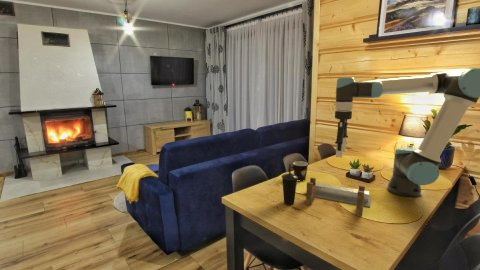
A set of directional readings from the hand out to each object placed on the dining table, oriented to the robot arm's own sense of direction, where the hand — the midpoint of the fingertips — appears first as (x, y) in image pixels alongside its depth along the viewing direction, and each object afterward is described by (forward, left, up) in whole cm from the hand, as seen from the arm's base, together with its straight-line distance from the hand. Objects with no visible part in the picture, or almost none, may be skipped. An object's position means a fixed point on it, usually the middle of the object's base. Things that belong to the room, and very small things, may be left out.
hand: (340, 153), depth 128 cm
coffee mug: (+25, -14, -23) cm, 37 cm away
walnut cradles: (0, +12, -23) cm, 26 cm away
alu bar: (0, 0, -22) cm, 22 cm away
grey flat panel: (0, 0, -23) cm, 23 cm away
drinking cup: (+20, +18, -23) cm, 35 cm away
